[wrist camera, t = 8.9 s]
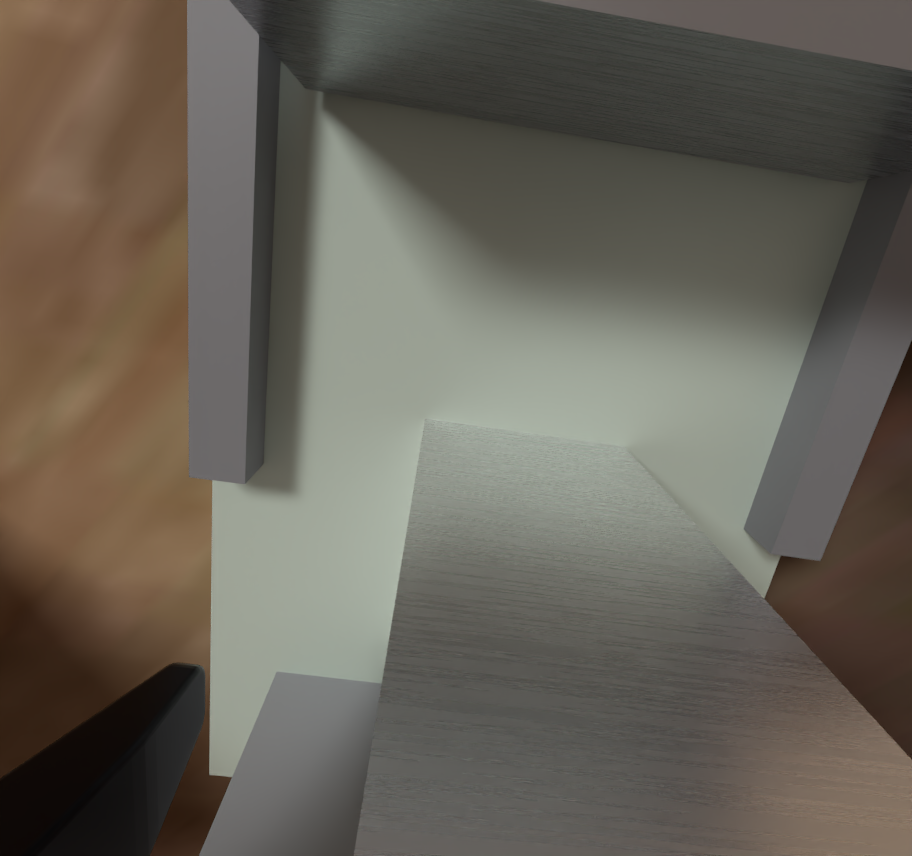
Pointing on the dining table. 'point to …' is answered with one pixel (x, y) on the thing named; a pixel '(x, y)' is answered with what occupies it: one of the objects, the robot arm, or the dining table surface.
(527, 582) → the aluminium block
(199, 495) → the dining table surface
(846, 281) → the vise
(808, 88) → the sliding jaw
